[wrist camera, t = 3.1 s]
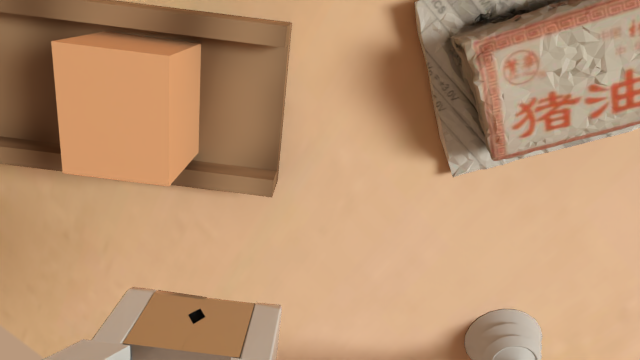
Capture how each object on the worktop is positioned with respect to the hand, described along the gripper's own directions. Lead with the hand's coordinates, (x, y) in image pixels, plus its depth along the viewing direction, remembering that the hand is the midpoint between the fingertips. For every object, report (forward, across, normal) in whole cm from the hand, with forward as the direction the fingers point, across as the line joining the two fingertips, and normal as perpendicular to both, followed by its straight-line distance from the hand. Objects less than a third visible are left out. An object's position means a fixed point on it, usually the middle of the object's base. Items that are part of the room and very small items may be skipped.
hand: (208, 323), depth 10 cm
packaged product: (+20, -16, -5) cm, 25 cm away
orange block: (+19, +8, 0) cm, 20 cm away
